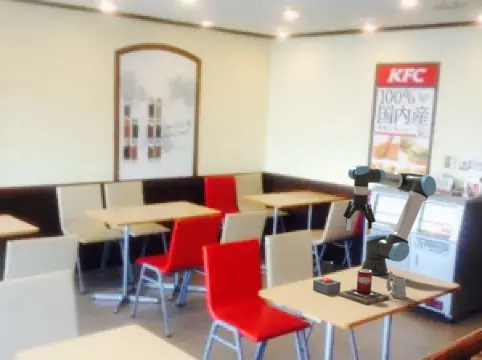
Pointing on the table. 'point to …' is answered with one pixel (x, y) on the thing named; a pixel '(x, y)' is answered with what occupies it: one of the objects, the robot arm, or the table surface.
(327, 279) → the button
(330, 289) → the button housing
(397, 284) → the mug
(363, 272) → the soda can
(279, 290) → the table surface
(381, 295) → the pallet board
